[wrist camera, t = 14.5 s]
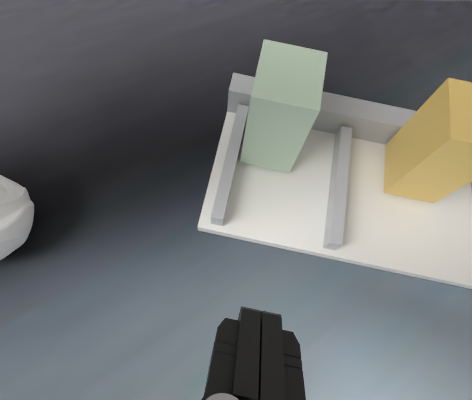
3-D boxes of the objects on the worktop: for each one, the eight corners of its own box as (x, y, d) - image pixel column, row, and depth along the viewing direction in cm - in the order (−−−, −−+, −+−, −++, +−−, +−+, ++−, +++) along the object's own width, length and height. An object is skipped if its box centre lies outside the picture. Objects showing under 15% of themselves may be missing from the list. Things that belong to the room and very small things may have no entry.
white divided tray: (604, 317, 28) (663, 315, 24) (197, 230, 29) (195, 215, 25) (574, 171, 33) (620, 151, 30) (231, 99, 34) (233, 70, 30)
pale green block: (289, 172, 30) (319, 110, 21) (239, 162, 30) (250, 96, 21) (296, 126, 32) (327, 52, 23) (250, 116, 32) (263, 39, 23)
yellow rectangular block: (433, 203, 30) (521, 153, 21) (383, 192, 30) (451, 138, 21) (432, 154, 31) (512, 90, 23) (385, 144, 32) (448, 77, 23)
